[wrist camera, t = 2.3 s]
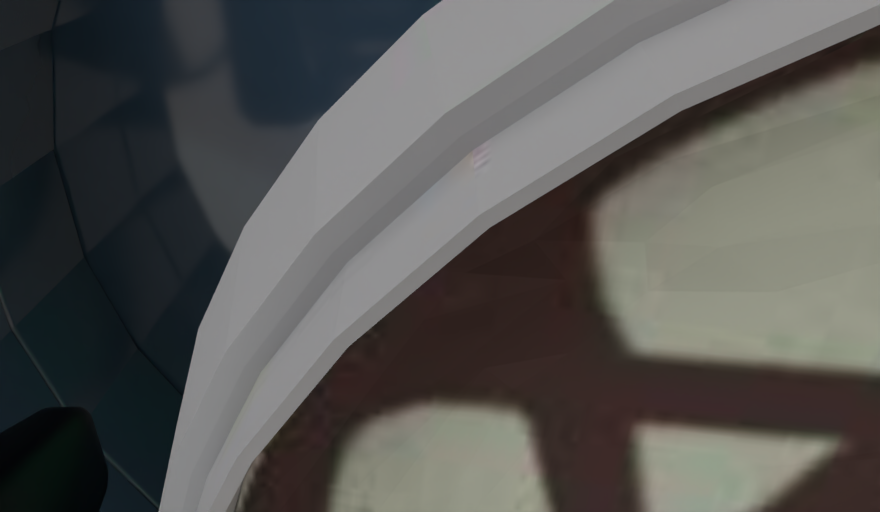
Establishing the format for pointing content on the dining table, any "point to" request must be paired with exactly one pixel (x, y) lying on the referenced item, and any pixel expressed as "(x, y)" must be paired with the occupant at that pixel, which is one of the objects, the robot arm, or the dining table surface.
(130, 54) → the pot
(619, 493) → the food container
